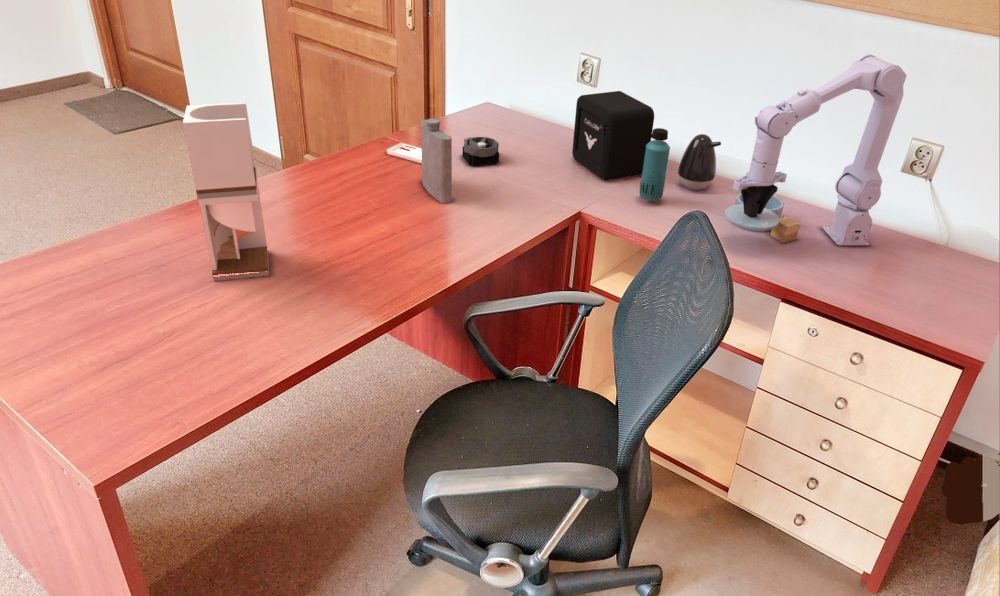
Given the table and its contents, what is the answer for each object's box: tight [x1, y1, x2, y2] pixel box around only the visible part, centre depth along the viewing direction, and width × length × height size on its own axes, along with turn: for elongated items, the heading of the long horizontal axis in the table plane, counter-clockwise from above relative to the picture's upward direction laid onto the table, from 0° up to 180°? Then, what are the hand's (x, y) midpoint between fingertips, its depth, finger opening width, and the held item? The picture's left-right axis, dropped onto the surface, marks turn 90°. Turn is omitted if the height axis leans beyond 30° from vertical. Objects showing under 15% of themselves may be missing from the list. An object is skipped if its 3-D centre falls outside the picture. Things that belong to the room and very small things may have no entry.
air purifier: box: [571, 90, 655, 182], centre depth 219 cm, size 20×15×20 cm
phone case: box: [386, 142, 422, 165], centre depth 227 cm, size 7×1×15 cm
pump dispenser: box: [677, 133, 722, 191], centre depth 210 cm, size 10×10×15 cm
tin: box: [734, 192, 785, 232], centre depth 195 cm, size 12×12×6 cm
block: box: [770, 216, 801, 244], centre depth 188 cm, size 4×4×4 cm
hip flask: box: [420, 118, 453, 204], centre depth 200 cm, size 16×4×20 cm, turn 26°
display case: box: [182, 102, 270, 282], centre depth 159 cm, size 11×11×35 cm
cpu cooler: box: [462, 136, 500, 167], centre depth 224 cm, size 10×6×10 cm
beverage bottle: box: [639, 127, 671, 201], centre depth 200 cm, size 6×7×20 cm
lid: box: [724, 201, 779, 229], centre depth 180 cm, size 13×13×5 cm
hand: (752, 213), depth 181 cm, fingers closed on lid, 2 cm apart
